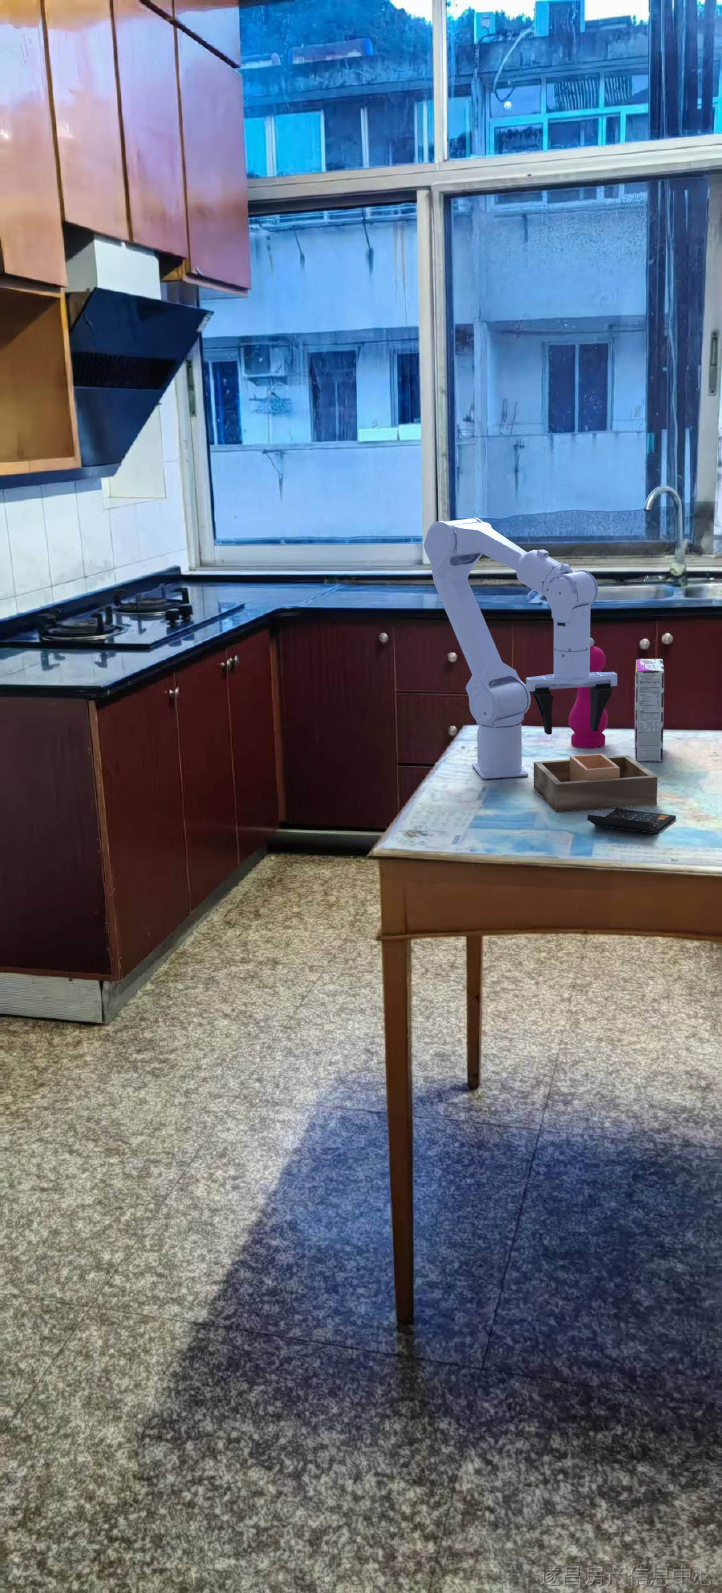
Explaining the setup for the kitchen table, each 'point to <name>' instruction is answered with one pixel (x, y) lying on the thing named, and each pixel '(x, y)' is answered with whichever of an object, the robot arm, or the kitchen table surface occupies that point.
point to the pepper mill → (588, 709)
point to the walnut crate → (595, 786)
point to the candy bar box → (649, 710)
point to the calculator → (633, 820)
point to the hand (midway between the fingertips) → (571, 731)
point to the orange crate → (592, 768)
